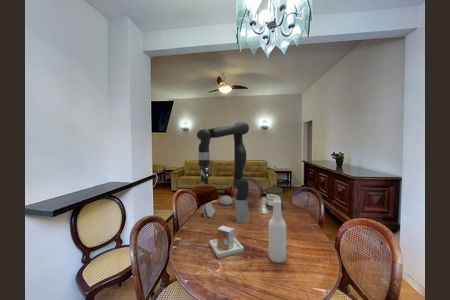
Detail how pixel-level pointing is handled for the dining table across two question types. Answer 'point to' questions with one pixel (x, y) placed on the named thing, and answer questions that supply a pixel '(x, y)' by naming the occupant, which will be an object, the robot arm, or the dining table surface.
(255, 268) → the dining table surface
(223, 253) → the tray
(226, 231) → the small box
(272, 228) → the alcohol
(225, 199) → the sea urchin shell
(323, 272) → the dining table surface
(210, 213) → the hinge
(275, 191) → the clear glass jar
